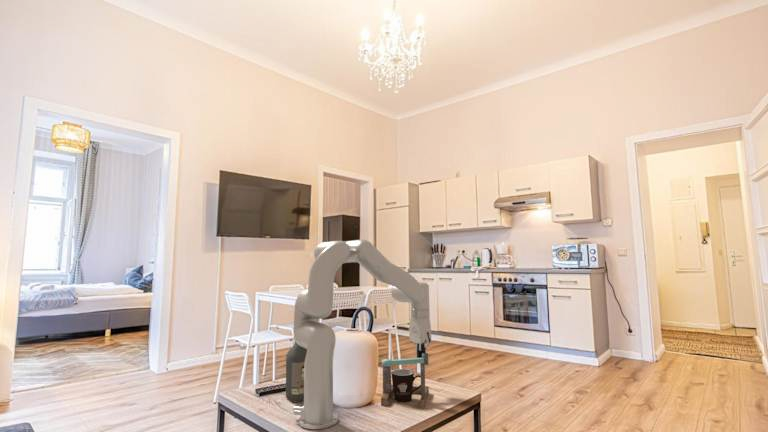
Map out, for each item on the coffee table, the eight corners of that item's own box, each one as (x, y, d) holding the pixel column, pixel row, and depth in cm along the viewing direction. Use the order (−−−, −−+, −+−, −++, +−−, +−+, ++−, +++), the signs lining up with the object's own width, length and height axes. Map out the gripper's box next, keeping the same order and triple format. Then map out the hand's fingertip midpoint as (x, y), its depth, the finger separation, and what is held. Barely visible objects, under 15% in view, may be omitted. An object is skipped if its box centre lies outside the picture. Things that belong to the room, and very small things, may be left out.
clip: (383, 368, 148) (383, 357, 149) (381, 366, 152) (381, 355, 152) (429, 364, 152) (429, 354, 153) (426, 362, 156) (426, 352, 156)
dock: (379, 405, 143) (378, 364, 144) (389, 390, 158) (388, 353, 160) (423, 408, 139) (422, 366, 141) (429, 393, 155) (428, 355, 156)
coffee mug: (387, 401, 146) (387, 373, 148) (397, 394, 154) (397, 368, 155) (416, 406, 141) (415, 377, 142) (425, 398, 149) (424, 371, 150)
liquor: (283, 397, 153) (284, 318, 156) (305, 392, 158) (305, 316, 161) (293, 404, 145) (294, 321, 149) (315, 398, 151) (316, 318, 154)
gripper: (403, 312, 164) (403, 357, 162) (422, 316, 151) (423, 365, 149) (418, 310, 168) (419, 355, 166) (438, 315, 154) (439, 363, 152)
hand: (421, 360), depth 157 cm, fingers closed
